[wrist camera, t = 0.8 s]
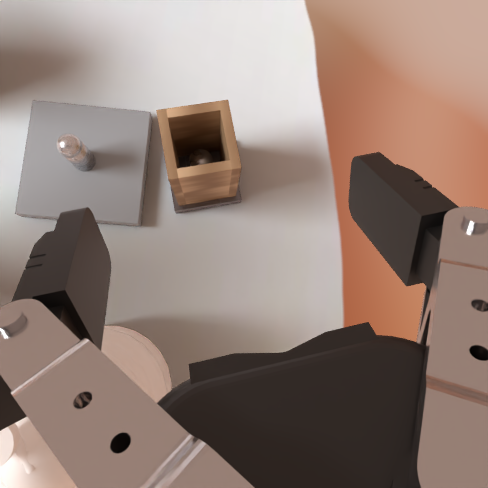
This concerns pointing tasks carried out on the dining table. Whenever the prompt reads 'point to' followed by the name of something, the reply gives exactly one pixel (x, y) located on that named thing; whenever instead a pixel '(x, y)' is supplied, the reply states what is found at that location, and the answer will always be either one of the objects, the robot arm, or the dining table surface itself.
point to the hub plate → (85, 187)
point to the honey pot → (35, 448)
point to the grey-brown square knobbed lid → (199, 159)
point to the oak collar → (200, 137)
